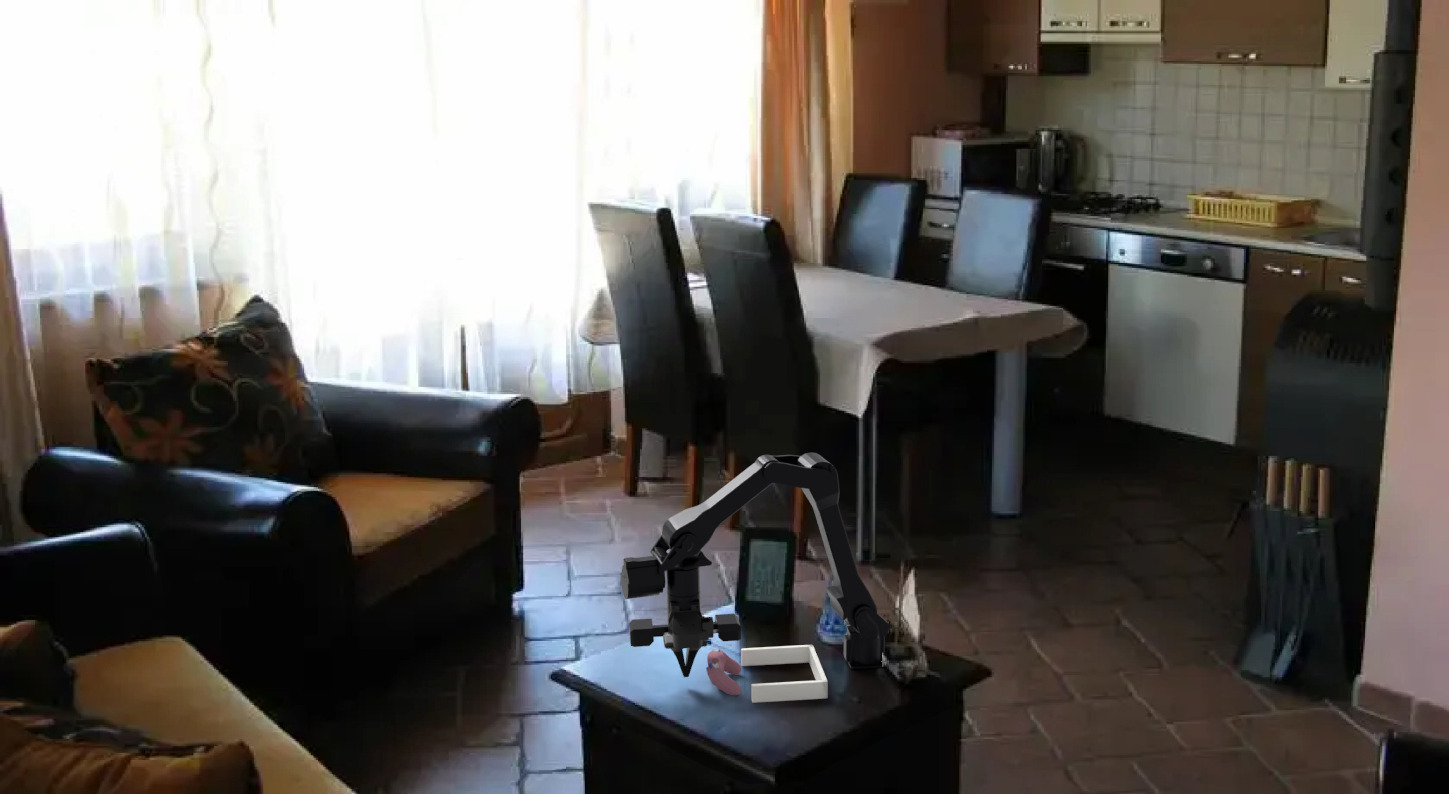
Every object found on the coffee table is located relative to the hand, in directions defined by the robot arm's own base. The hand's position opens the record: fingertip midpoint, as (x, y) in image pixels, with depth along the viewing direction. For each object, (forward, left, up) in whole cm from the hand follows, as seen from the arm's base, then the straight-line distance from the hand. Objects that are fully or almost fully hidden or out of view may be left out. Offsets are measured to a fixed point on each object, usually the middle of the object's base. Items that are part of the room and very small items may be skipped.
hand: (686, 676), depth 257 cm
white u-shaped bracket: (-16, 0, -2) cm, 17 cm away
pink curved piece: (-6, 0, -2) cm, 7 cm away
